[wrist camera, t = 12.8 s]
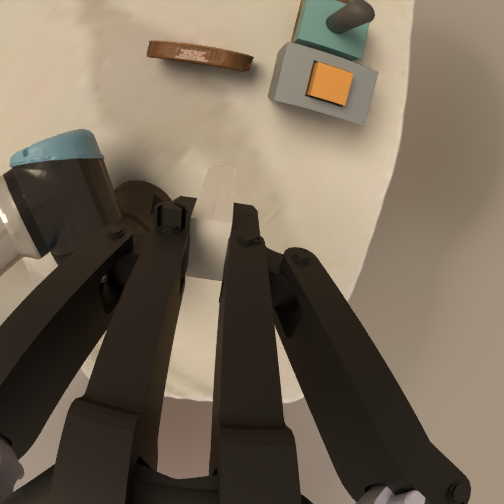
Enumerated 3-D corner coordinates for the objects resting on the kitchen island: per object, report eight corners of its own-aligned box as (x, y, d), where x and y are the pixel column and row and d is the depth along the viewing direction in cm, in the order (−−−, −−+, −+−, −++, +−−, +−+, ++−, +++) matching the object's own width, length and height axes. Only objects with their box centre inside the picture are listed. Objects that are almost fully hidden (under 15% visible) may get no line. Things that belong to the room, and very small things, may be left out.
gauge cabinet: (267, 97, 37) (273, 100, 29) (278, 51, 33) (287, 41, 25) (342, 116, 39) (366, 127, 31) (353, 73, 34) (381, 73, 26)
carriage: (351, 60, 31) (392, 56, 20) (293, 42, 30) (313, 25, 19) (360, 18, 27) (402, 2, 16) (303, -1, 25) (327, -30, 15)
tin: (253, 58, 34) (255, 51, 27) (248, 75, 35) (248, 73, 28) (160, 42, 31) (141, 35, 24) (155, 60, 33) (135, 56, 26)
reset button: (305, 94, 30) (310, 95, 27) (312, 63, 27) (318, 62, 25) (337, 103, 30) (344, 105, 28) (345, 74, 28) (353, 73, 25)
